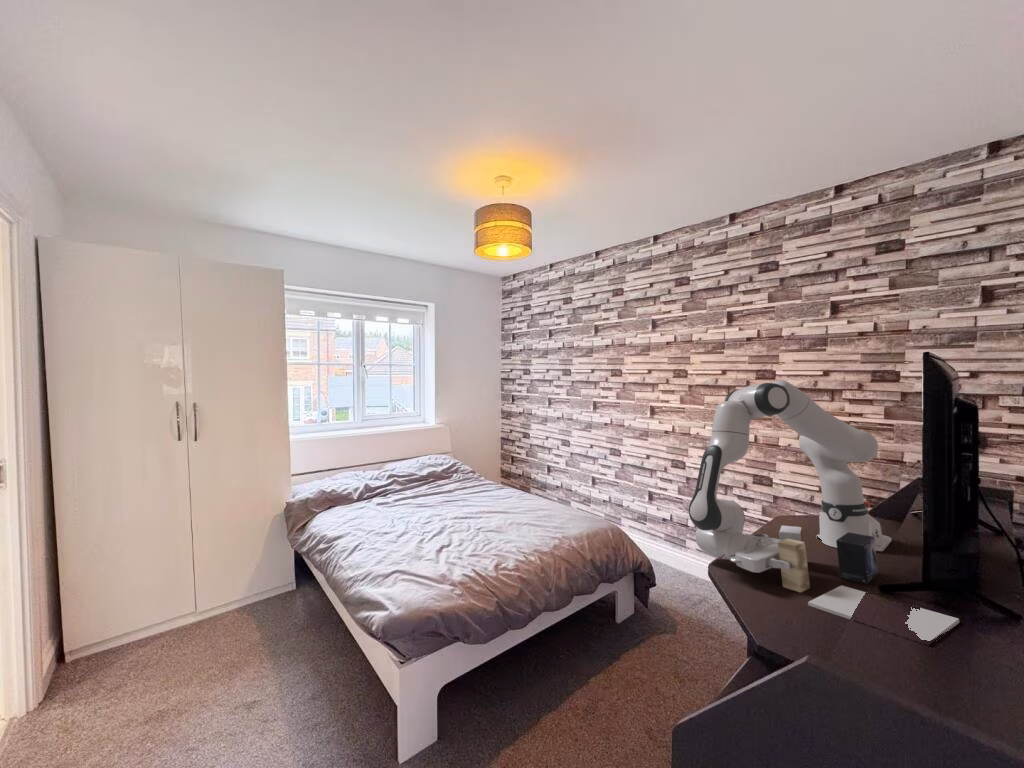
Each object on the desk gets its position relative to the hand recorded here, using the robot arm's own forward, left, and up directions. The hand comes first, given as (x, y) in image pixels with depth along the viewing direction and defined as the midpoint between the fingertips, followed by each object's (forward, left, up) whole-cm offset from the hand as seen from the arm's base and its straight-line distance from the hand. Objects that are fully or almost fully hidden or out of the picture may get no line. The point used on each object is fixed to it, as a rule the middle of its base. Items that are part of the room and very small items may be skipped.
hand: (797, 563), depth 112 cm
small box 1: (-16, -10, -7) cm, 20 cm away
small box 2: (-20, +5, -7) cm, 22 cm away
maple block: (0, -1, -7) cm, 7 cm away
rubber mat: (0, +17, -7) cm, 18 cm away
